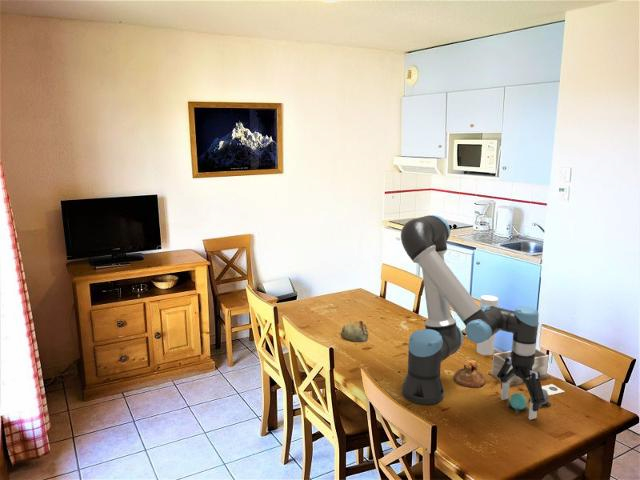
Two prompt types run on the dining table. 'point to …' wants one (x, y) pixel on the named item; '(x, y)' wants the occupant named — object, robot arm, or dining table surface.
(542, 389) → the ball charcoal
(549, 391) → the dot card
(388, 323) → the dining table surface
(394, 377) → the dining table surface
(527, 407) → the small grey cubes
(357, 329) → the grey green rock
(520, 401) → the ball teal
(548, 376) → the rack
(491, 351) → the cylindrical container
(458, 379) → the brown patterned pot lid
